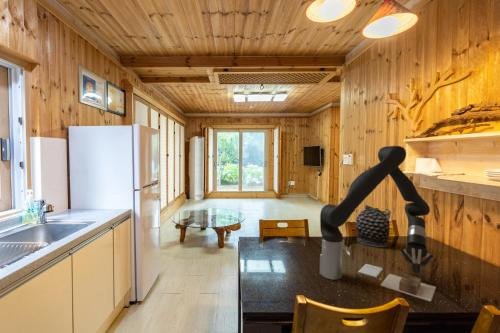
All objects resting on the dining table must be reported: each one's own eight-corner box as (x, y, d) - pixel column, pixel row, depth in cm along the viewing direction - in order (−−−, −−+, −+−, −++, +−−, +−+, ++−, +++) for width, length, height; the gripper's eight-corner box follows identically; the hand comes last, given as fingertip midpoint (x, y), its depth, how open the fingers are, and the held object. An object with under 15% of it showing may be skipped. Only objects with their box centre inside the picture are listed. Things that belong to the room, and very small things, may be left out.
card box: (404, 281, 113) (399, 290, 106) (404, 273, 113) (399, 281, 106) (420, 286, 109) (416, 295, 102) (420, 278, 109) (416, 286, 102)
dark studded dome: (391, 243, 164) (392, 205, 164) (388, 250, 152) (390, 209, 151) (357, 237, 176) (358, 202, 175) (352, 244, 164) (353, 205, 163)
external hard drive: (357, 274, 122) (365, 266, 131) (376, 280, 116) (383, 271, 126) (357, 271, 122) (365, 263, 131) (376, 276, 116) (383, 267, 126)
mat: (380, 286, 110) (380, 285, 110) (389, 274, 121) (389, 273, 121) (430, 303, 98) (430, 301, 98) (435, 288, 109) (436, 286, 109)
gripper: (400, 231, 121) (398, 265, 111) (434, 236, 113) (435, 273, 104) (400, 239, 125) (398, 273, 115) (433, 244, 118) (434, 280, 108)
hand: (416, 273), depth 109 cm, fingers closed
